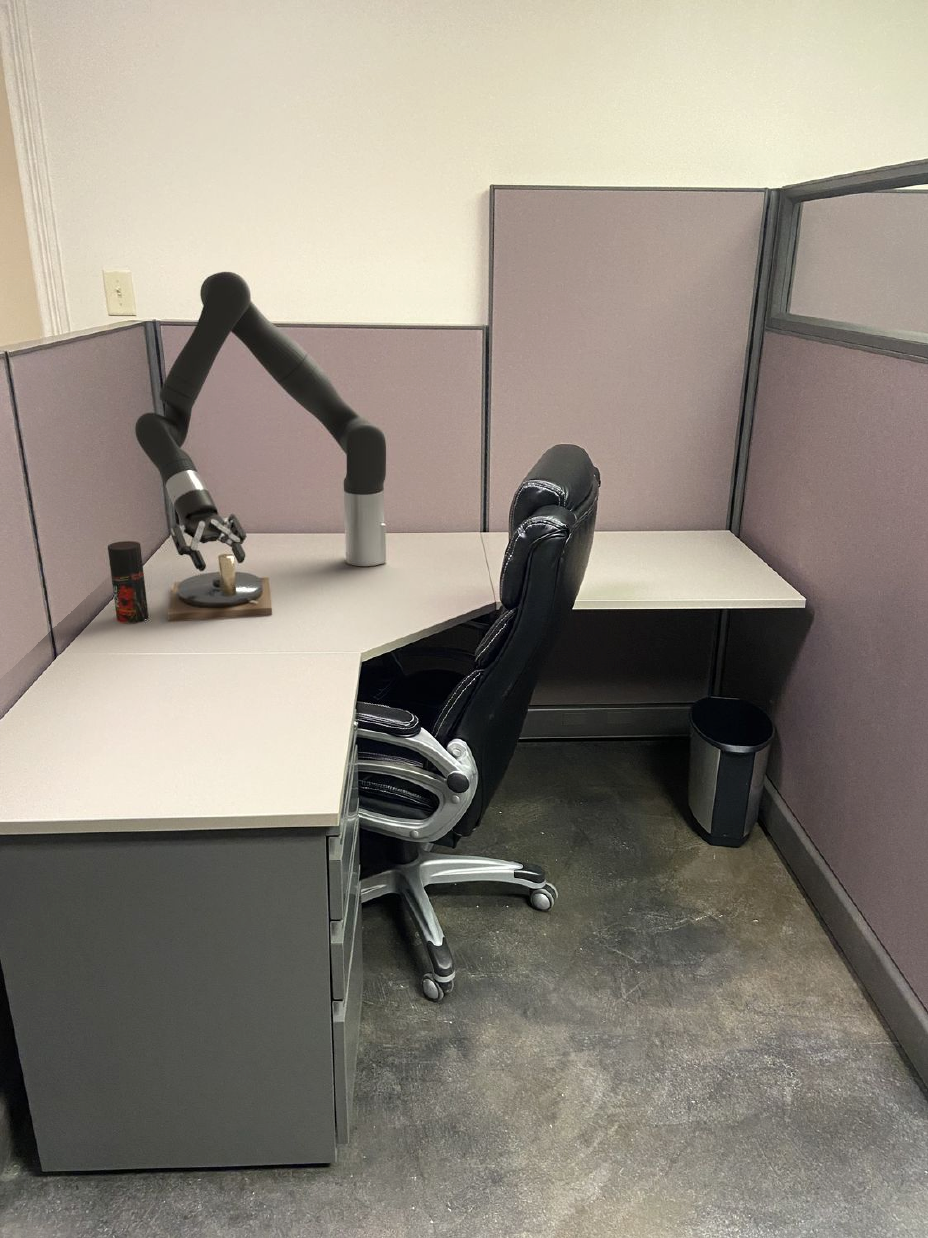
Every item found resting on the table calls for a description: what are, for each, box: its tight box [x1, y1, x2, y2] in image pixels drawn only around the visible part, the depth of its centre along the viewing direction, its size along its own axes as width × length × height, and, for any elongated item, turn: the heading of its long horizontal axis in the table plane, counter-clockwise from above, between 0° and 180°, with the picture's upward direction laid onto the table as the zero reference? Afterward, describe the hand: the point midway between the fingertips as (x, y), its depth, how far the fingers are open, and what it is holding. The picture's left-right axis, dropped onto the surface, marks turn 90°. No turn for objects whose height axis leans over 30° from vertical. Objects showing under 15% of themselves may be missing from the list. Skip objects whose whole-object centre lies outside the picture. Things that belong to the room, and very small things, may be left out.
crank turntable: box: [178, 553, 263, 607], centre depth 189 cm, size 17×17×10 cm
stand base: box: [167, 576, 273, 622], centre depth 191 cm, size 20×20×2 cm
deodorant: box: [107, 540, 149, 625], centre depth 179 cm, size 6×6×15 cm
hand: (223, 565), depth 183 cm, fingers open, 8 cm apart
